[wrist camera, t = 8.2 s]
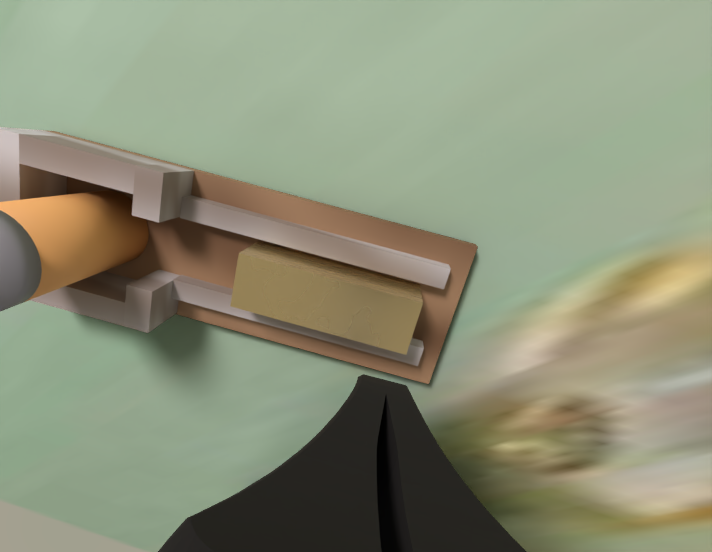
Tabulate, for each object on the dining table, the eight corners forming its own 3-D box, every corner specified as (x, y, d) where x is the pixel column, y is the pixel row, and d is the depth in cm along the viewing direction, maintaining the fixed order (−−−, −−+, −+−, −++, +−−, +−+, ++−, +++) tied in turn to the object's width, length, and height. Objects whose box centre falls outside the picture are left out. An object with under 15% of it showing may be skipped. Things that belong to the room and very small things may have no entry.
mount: (427, 377, 21) (432, 414, 18) (52, 274, 21) (-4, 292, 18) (475, 244, 19) (489, 260, 16) (54, 131, 19) (-10, 126, 16)
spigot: (146, 269, 20) (22, 325, 13) (78, 253, 20) (-78, 300, 13) (150, 199, 19) (18, 222, 12) (79, 182, 19) (-91, 196, 12)
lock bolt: (405, 330, 20) (406, 354, 17) (250, 288, 20) (230, 306, 17) (419, 284, 19) (423, 303, 16) (258, 241, 19) (238, 252, 17)
